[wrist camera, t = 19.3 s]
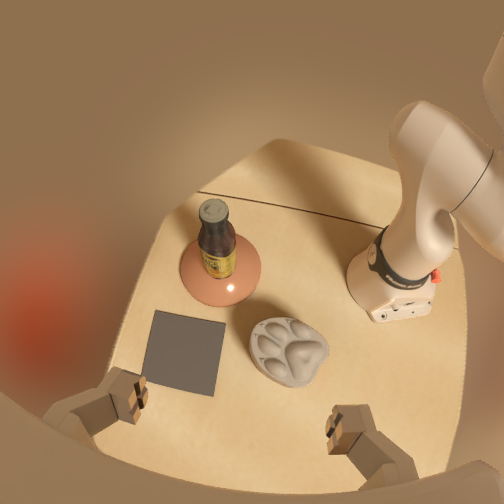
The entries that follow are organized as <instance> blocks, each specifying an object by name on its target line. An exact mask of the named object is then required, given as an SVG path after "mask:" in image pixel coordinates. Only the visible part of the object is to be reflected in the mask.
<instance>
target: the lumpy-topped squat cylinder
mask: <svg viewBox="0 0 504 504" xmlns="http://www.w3.org/2000/svg"><path fill="white" fill-rule="evenodd" d="M249 351H250V355H251V358H252V360H253V362H254V364H255V366H256V368H257V369H258V370H259V371H260V372H261V373H262V374H263V375H265V376H266V377H268V378H269V379H271V380H273V381H274V382H276V383H279V384H281V385H283V386H285V387H290V388H303V387H306V386H308V385H310V384H311V383H312V382H313V380H314V378H315V376H316V374H317V371H318V369H319V368H320V366H321V365H322V364H323V363H324V361H325V360H326V359H327V357H328V355H329V346H328V343H327V341H326V339H325V338H324V337H323V336H322V335H321V334H320V333H318V332H317V331H315V330H314V329H313V328H311V327H310V326H308V325H306V324H305V323H303V322H301V321H299V320H297V319H294V318H288V317H272V318H268V319H265V320H263V321H261V322H259V323H257V324H256V325H255V326H254V328H253V329H252V331H251V334H250V341H249Z"/></svg>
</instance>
